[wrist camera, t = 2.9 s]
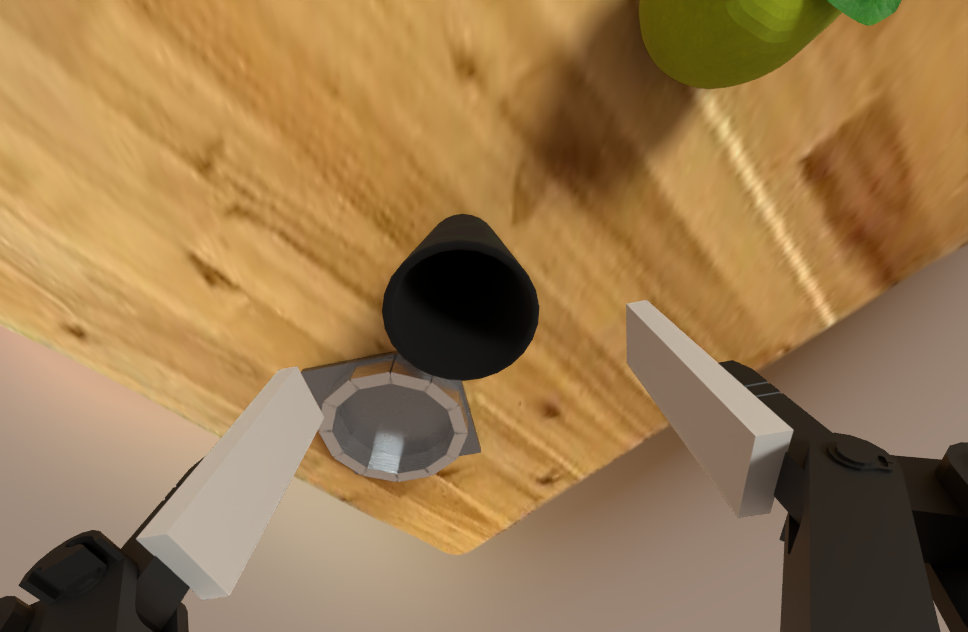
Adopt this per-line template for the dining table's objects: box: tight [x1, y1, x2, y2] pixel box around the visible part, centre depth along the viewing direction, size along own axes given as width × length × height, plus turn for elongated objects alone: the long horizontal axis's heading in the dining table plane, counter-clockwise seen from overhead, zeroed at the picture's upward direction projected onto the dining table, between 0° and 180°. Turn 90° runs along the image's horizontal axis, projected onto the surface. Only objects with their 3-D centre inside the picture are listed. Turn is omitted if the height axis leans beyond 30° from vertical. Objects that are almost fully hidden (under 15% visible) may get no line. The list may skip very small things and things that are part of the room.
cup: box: [382, 214, 539, 381], centre depth 22 cm, size 8×8×12 cm
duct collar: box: [301, 351, 481, 482], centre depth 34 cm, size 14×14×3 cm
